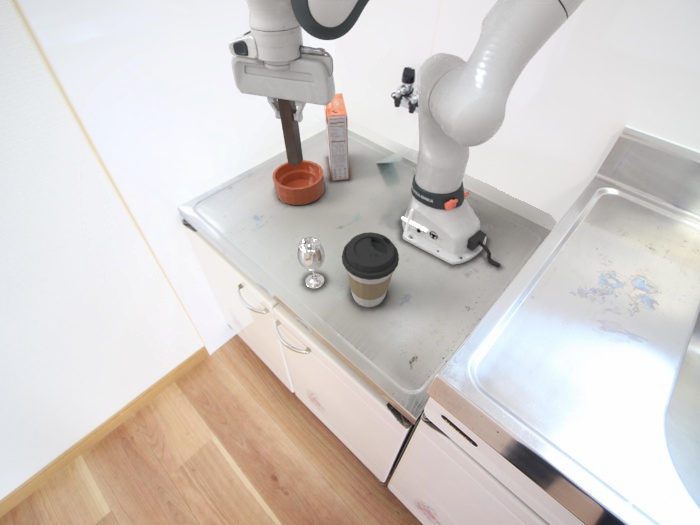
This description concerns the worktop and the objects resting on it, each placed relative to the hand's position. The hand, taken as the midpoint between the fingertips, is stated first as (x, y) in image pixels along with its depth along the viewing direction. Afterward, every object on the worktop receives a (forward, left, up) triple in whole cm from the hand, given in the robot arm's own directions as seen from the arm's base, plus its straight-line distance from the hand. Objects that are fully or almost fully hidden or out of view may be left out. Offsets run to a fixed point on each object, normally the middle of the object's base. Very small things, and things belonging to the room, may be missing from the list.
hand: (289, 119), depth 71 cm
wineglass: (-18, +10, -29) cm, 36 cm away
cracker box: (+15, -23, -29) cm, 40 cm away
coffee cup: (-29, +3, -29) cm, 41 cm away
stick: (0, 0, -10) cm, 10 cm away
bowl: (+13, -7, -29) cm, 33 cm away
